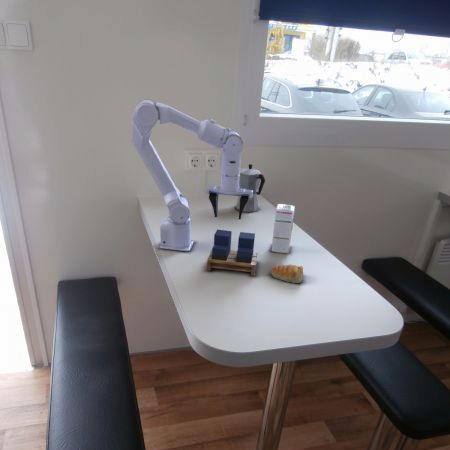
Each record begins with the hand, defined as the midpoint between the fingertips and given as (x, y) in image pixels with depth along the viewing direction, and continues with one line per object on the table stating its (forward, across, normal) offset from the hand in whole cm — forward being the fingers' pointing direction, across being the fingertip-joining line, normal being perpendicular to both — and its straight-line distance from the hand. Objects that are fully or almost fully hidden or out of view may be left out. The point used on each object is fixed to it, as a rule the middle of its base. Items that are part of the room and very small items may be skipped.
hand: (227, 217), depth 130 cm
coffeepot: (+10, -4, -40) cm, 41 cm away
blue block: (+6, 0, +15) cm, 16 cm away
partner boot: (+6, -8, +15) cm, 18 cm away
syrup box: (+10, -18, -2) cm, 21 cm away
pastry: (+10, -21, +18) cm, 29 cm away
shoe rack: (+10, -4, +15) cm, 18 cm away
